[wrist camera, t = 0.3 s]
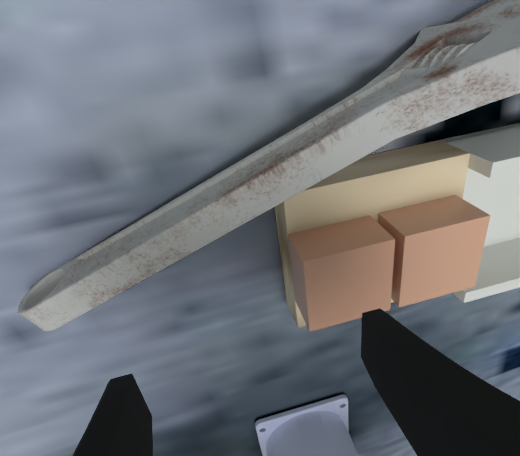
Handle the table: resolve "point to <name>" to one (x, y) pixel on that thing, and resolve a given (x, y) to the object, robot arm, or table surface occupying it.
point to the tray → (494, 205)
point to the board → (370, 194)
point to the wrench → (299, 159)
